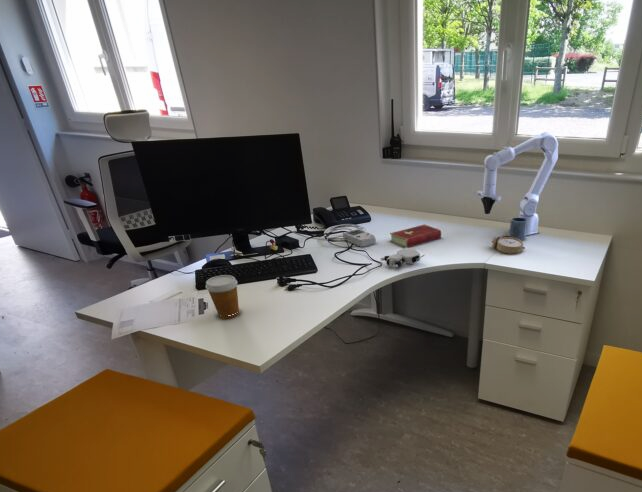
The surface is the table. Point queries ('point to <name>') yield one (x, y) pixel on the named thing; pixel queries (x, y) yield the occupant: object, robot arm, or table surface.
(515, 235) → the pen pot
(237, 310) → the disposable coffee cup
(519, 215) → the robot arm
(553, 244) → the table surface
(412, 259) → the robot toy
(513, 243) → the alarm clock
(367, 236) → the handheld gaming device
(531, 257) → the table surface
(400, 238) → the hardcover book
